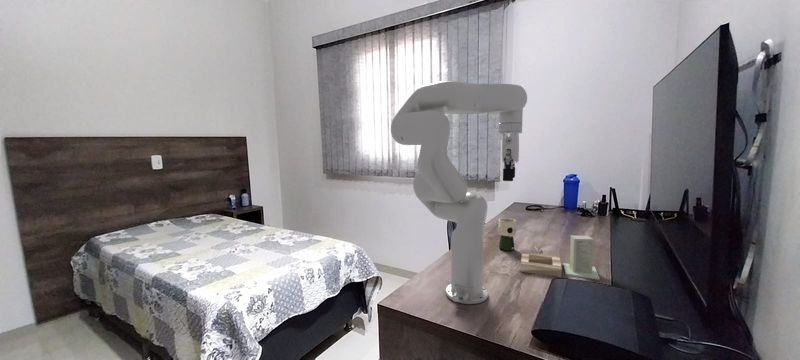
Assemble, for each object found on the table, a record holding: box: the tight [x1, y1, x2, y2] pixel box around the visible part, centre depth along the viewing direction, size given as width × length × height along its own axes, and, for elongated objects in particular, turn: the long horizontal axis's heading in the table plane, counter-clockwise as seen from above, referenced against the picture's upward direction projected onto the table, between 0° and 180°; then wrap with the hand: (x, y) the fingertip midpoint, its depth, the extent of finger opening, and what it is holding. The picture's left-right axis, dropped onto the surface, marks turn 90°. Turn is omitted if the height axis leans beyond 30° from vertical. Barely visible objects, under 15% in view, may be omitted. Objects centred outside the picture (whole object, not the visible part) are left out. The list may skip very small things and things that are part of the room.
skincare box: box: [569, 234, 595, 273], centre depth 109 cm, size 6×4×12 cm
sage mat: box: [563, 262, 601, 281], centre depth 110 cm, size 10×10×1 cm
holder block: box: [520, 251, 563, 278], centre depth 114 cm, size 13×13×3 cm
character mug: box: [497, 217, 517, 251], centre depth 133 cm, size 11×7×13 cm, turn 122°
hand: (509, 179), depth 107 cm, fingers open, 9 cm apart
